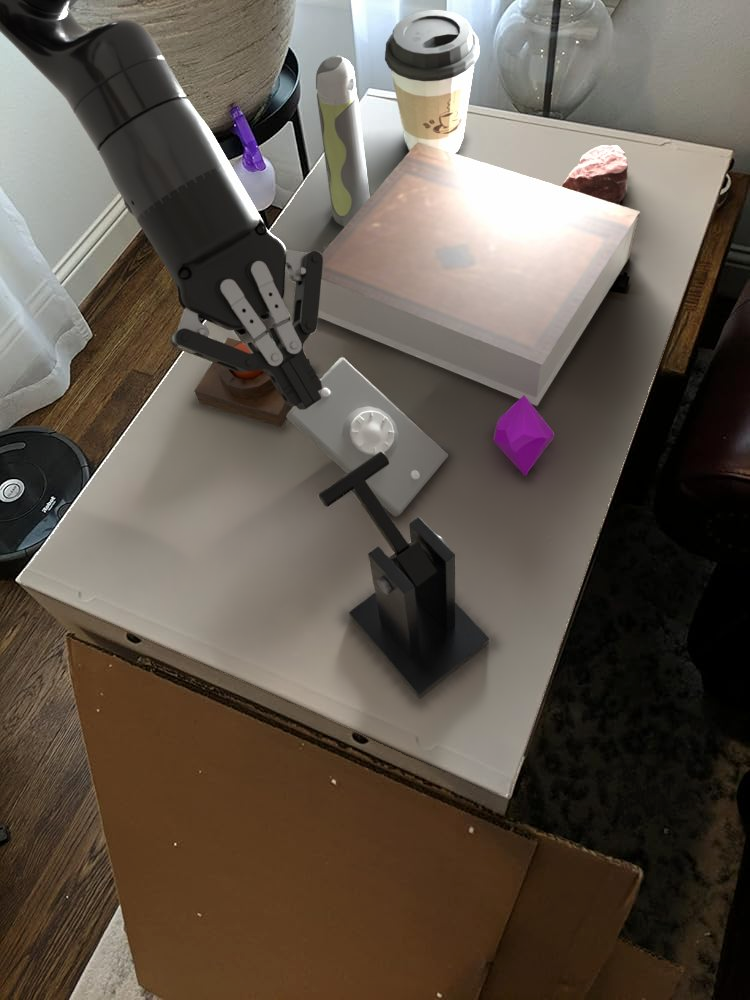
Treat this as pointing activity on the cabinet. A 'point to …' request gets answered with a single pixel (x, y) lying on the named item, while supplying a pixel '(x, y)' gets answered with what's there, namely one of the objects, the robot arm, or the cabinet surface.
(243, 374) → the button
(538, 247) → the book
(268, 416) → the control block
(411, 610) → the bracket
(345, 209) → the grey and green cylinder
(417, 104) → the coffee cup
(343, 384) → the light switch
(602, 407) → the cabinet surface
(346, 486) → the lever
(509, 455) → the crystal
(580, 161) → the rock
